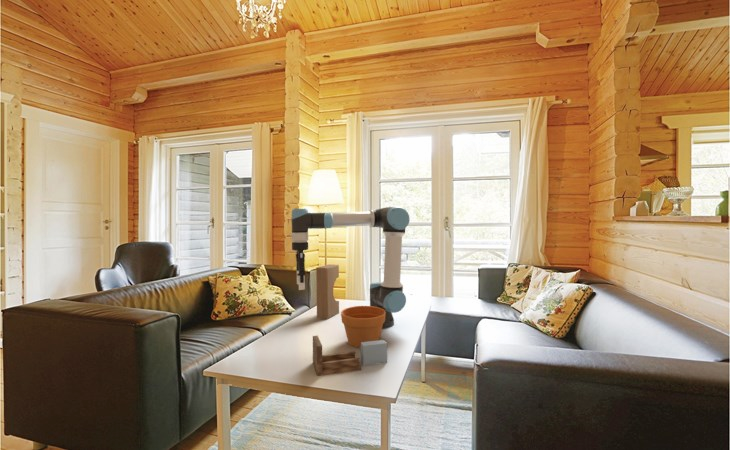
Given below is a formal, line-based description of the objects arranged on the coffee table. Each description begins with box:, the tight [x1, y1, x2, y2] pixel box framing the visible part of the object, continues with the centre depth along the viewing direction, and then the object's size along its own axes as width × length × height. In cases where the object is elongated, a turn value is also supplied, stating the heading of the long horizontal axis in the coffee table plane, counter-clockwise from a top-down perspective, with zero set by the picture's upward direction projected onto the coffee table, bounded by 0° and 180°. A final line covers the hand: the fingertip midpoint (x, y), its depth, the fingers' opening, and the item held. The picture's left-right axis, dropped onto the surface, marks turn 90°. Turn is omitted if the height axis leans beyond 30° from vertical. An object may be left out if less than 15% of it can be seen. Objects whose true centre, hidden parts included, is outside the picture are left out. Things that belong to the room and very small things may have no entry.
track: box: [312, 335, 362, 377], centre depth 134 cm, size 17×12×11 cm
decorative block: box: [315, 264, 340, 320], centre depth 206 cm, size 15×8×30 cm, turn 157°
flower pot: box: [340, 305, 386, 349], centre depth 160 cm, size 21×21×15 cm
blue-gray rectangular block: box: [360, 339, 388, 367], centre depth 138 cm, size 10×4×8 cm, turn 106°
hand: (300, 286), depth 159 cm, fingers open, 13 cm apart
